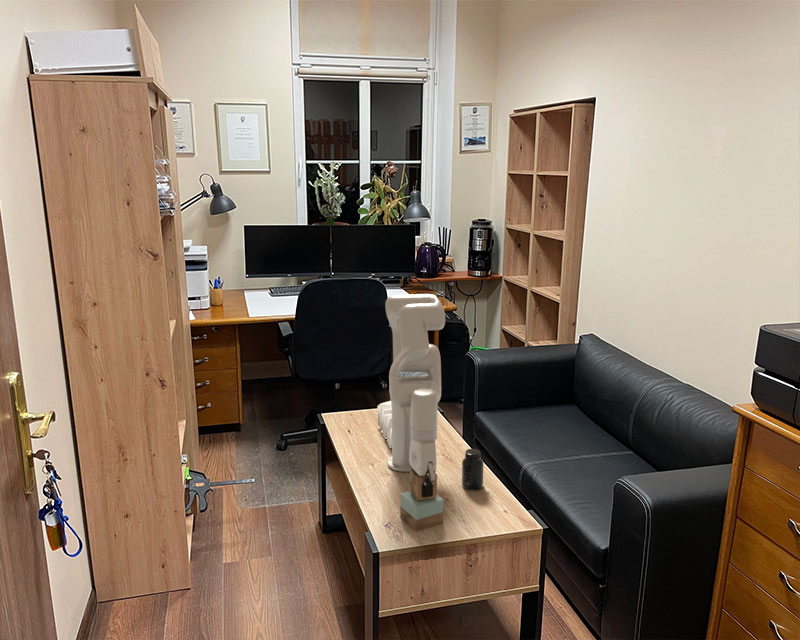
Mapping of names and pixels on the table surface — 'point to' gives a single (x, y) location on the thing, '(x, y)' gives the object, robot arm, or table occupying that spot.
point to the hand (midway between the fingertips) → (423, 490)
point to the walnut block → (420, 485)
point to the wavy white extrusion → (385, 420)
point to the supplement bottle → (472, 470)
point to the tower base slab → (421, 520)
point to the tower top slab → (421, 506)
